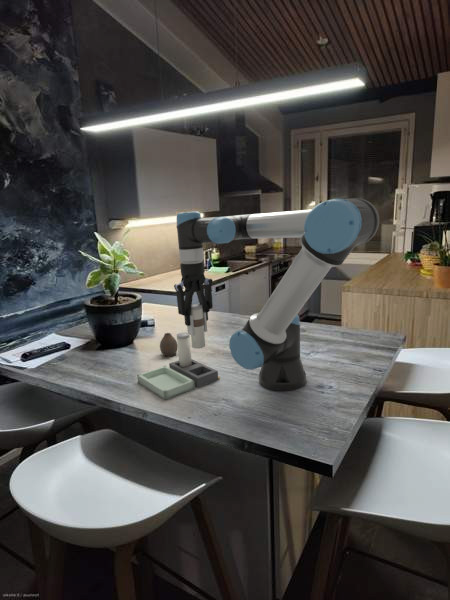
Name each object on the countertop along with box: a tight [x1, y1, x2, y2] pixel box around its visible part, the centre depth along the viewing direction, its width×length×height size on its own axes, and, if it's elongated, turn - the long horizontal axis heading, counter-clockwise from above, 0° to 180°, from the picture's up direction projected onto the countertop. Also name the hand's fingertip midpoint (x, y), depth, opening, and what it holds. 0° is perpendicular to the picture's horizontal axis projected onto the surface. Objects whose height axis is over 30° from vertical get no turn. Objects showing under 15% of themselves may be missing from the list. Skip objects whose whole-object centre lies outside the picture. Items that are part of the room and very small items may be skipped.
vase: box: [159, 332, 178, 357], centre depth 161 cm, size 7×7×9 cm
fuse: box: [176, 332, 193, 368], centre depth 142 cm, size 4×4×14 cm
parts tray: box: [137, 365, 196, 400], centre depth 134 cm, size 18×11×3 cm, turn 38°
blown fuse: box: [190, 303, 206, 350], centre depth 133 cm, size 4×4×14 cm
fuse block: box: [168, 358, 221, 387], centre depth 140 cm, size 18×9×3 cm, turn 38°
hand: (197, 332), depth 133 cm, fingers closed on blown fuse, 4 cm apart
